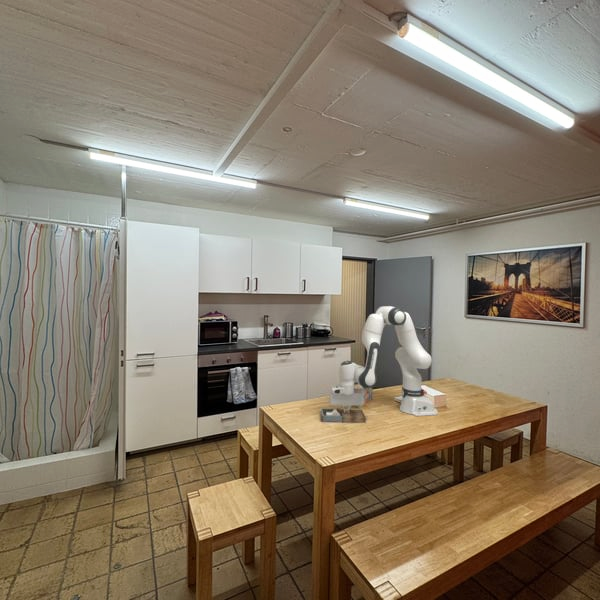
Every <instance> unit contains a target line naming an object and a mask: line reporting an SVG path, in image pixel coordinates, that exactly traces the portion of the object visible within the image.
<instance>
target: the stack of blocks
mask: <svg viewBox="0 0 600 600" xmlns="http://www.w3.org/2000/svg"><path fill="white" fill-rule="evenodd" d="M354 389H362V390H363V391H364V396H363V397H364V405H365V404H367V403H369V402H370V401H371V400H372V399H373V387H372V388H369V389H366V388H363V387H362V386H361V385H360V384H359V383H358V382H357V384H354ZM352 407H354V408H357V409H359V408H361V407H362V406H351V408H352Z"/></svg>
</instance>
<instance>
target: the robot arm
mask: <svg viewBox="0 0 600 600" xmlns="http://www.w3.org/2000/svg"><path fill="white" fill-rule="evenodd" d="M386 325H390V326H394V329H395V332H396V336H397V339H398V343H399V345H400V346H402V347H398V348H397V349H396V351H395V353H394V354H395V355H394V356H395V359H396V361H397V362H398V364H399V366H400V370H401V373H402V387H401V402H400V406H399V410H400V411H401V412H403V413H405V414H407V415H411V416H415V417H422V416H437V415H439V411H438V410H437V409H436V407H435V406H434V403H433V401H432V400H431V399H430V398H428V397H427V396H426V395H427V394H428V391H427V390H425V389H424V388H422V381H423V380H422V375H421V374H420V373H419V371H418V370H419V369H420V370H422V369H423V370H427V369H429V368H430V367H431V365H432V361H433V359H432V356H431V355H430V353H428V352H427V351H426V350H425V348H424V347H423V346H422V344H421V343H420V340H419V339H418V336H417V333H416V329H415V326H414V325H415V324H414V323H413V320H412V317H411V316H410V314H409V313H408V312H406V311H404V310H403V309H402V308H400V307H396V306H391V305H388V306H386V305H381V306H378V307H377V308H376V309H375V310H374V312H373V313H371V314H369V315H368V317H367V319H366V321H365V324H364V325H363V329H362V333H361V342H362V345H364V347H365V350H366V351H367V353H366V354H367V356H366V362H365V366H363V365H360V364H357V363H355V362H353V360H346V361H345V360H344V361H342V362H341V363H340V365H339V373H338V374H339V375H338V377H339V382H338V384H337V385H334V386H332V387H331V391H330V394H329V401H328V403H329V405H330V406H341V407H342V409H344V413H349V410H351V408H352V406H361V407H363V406H365V404H364V397H363V396H364V391H363V390H362V389H354V386H355V383H357V384H358V383H359V384H360V385H361V386H362V387H363V388H366V389H369V388H372V389H373V387H374V386H375V385H376V383H377V381H378V377H377V371H378V370H377V368H378V362H379V357H380V350H381V346H380V345H381V340H382V336H383V332H384V327H385V326H386ZM346 406H348V407H347V408H345V407H346Z"/></svg>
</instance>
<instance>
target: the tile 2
mask: <svg viewBox="0 0 600 600" xmlns="http://www.w3.org/2000/svg"><path fill="white" fill-rule="evenodd" d="M333 409H334V410H333V411H332V413H333V415H334V416H341V415H340V413H339V412H338V411H337V410H336V409H337V408H333Z"/></svg>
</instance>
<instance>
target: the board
mask: <svg viewBox="0 0 600 600" xmlns="http://www.w3.org/2000/svg"><path fill="white" fill-rule="evenodd" d="M339 409H340V416H342V423H343V424H344V423H345V424H366V423H367V417H366V416H365V413H364V412H363V410H362V409H350V410H349V413H344V409H343V408H342V409H341V408H339Z"/></svg>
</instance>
